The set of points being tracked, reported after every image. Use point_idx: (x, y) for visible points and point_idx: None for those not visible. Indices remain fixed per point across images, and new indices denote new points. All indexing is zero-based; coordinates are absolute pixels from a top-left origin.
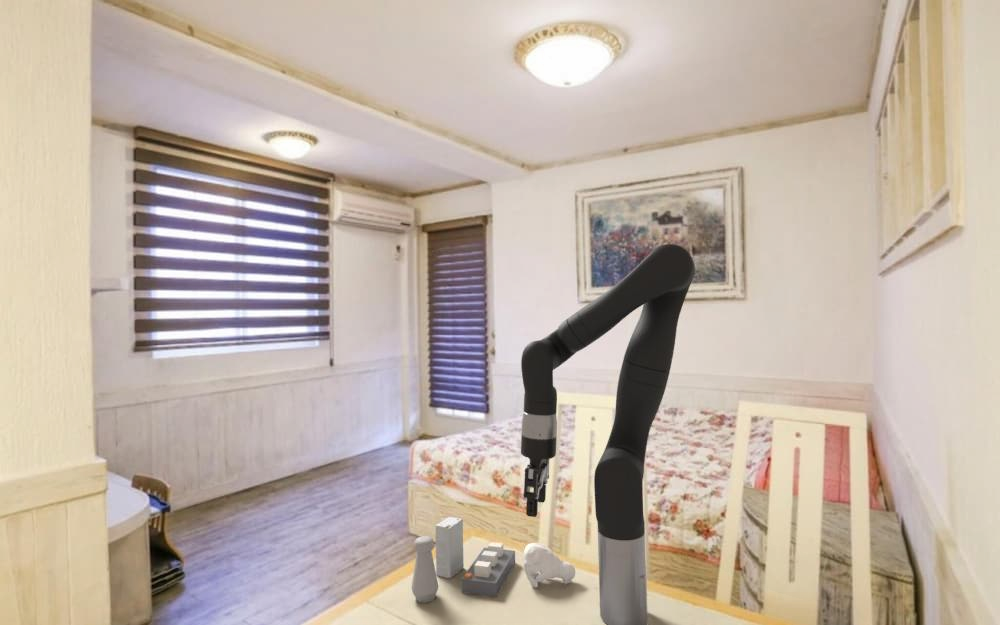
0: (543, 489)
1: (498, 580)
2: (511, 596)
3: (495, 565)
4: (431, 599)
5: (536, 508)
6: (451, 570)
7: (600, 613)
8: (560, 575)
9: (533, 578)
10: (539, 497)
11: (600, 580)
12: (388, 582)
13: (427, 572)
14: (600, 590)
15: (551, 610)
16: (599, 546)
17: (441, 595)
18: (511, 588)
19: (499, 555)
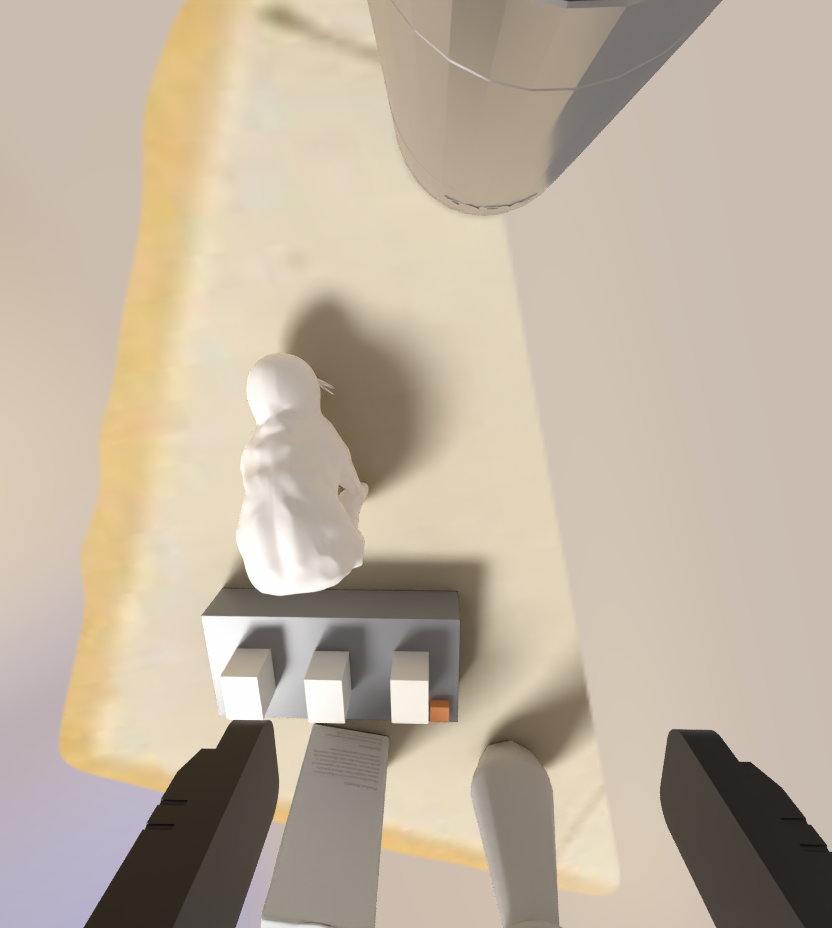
0: (204, 887)
1: (430, 616)
2: (441, 549)
3: (341, 651)
4: (520, 747)
5: (776, 814)
6: (382, 755)
7: (511, 208)
8: (320, 410)
9: (348, 506)
10: (257, 804)
11: (565, 157)
12: (450, 858)
13: (548, 840)
14: (549, 175)
15: (498, 405)
16: (647, 58)
17: (483, 729)
18: (392, 560)
19: (269, 658)
